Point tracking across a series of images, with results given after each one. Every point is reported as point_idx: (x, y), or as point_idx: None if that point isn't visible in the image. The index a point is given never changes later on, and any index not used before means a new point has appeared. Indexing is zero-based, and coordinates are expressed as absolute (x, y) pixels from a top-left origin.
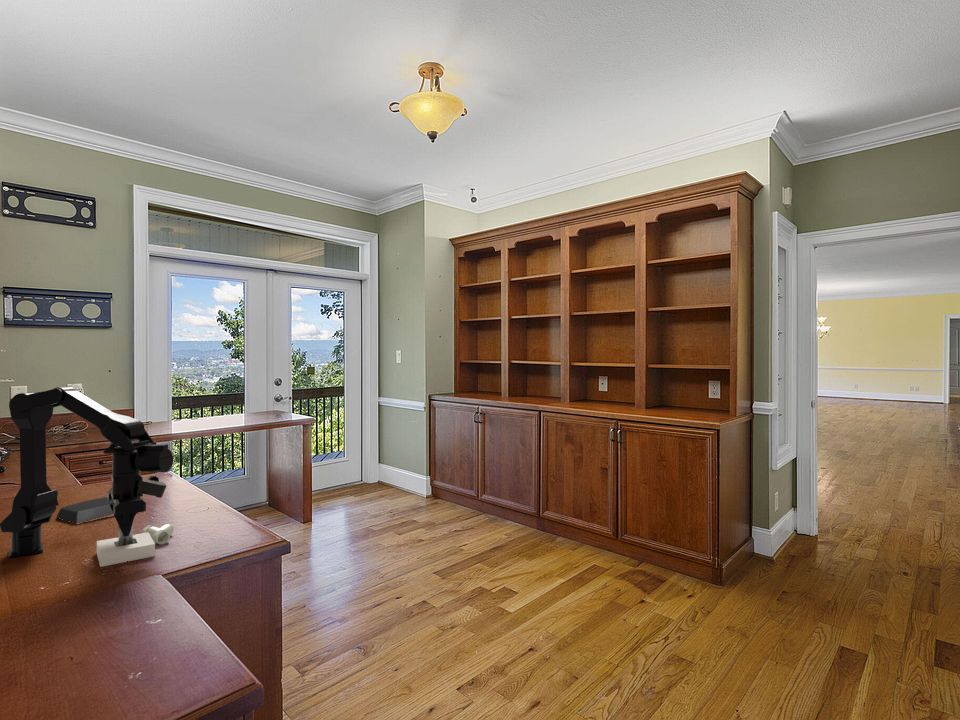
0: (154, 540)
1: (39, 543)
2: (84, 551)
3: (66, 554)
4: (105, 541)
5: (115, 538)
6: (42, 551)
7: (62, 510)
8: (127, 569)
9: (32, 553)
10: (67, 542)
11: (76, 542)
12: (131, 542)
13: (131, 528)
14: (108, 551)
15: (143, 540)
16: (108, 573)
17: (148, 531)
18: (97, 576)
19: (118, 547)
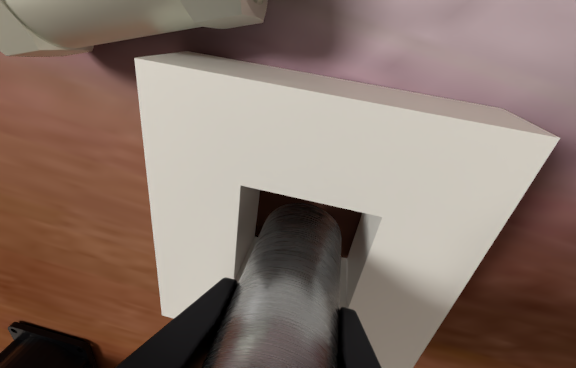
0: (232, 25)
1: (46, 364)
2: (141, 281)
3: (144, 318)
4: (195, 299)
5: (168, 256)
6: (86, 344)
7: None
8: (562, 280)
9: (92, 358)
10: (2, 274)
11: (12, 260)
12: (332, 237)
13: (327, 337)
14: (396, 353)
15: (352, 168)
16: (518, 333)
17: (74, 32)
18: (507, 360)
19: (370, 309)
